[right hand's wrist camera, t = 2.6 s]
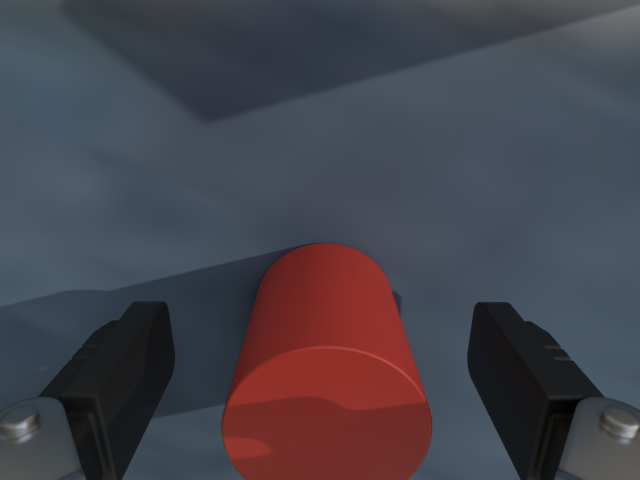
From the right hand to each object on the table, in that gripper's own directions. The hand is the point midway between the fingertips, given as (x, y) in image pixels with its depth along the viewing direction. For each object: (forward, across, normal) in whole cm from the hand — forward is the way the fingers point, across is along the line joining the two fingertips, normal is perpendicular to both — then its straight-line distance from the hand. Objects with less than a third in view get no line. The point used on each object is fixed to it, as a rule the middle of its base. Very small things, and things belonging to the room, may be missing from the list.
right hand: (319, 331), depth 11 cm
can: (+2, 0, 0) cm, 2 cm away
